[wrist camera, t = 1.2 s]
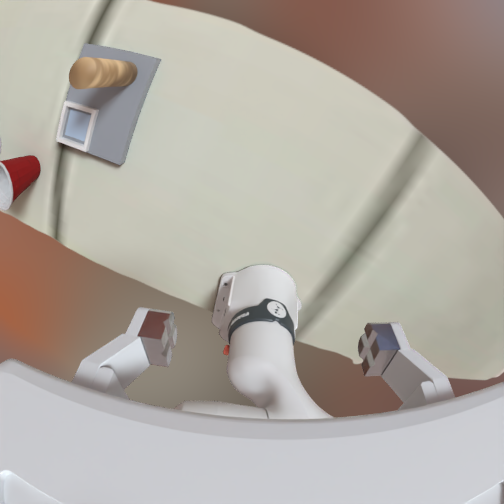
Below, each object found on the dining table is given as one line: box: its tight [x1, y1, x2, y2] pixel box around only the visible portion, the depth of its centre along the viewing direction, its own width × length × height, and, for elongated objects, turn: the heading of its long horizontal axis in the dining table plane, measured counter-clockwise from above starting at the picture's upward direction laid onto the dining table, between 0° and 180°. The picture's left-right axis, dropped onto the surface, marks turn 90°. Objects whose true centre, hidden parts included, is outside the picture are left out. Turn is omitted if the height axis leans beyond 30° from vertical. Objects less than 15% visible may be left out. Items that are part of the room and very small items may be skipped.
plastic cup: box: [0, 156, 40, 211], centre depth 41 cm, size 11×11×12 cm
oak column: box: [69, 57, 138, 89], centre depth 30 cm, size 4×4×13 cm
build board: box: [56, 44, 161, 165], centre depth 38 cm, size 20×16×3 cm
